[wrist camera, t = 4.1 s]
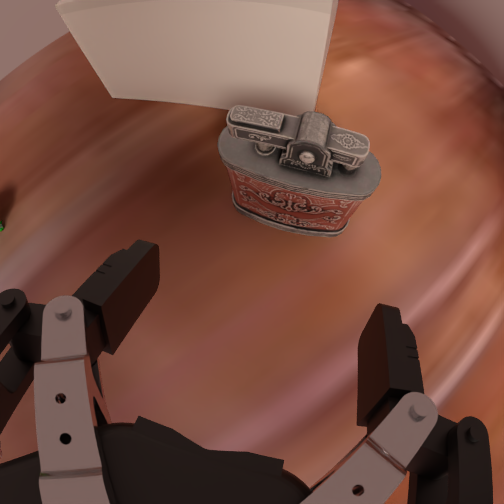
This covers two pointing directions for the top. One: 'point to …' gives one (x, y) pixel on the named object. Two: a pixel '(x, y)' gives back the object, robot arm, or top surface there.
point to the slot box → (207, 49)
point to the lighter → (296, 169)
